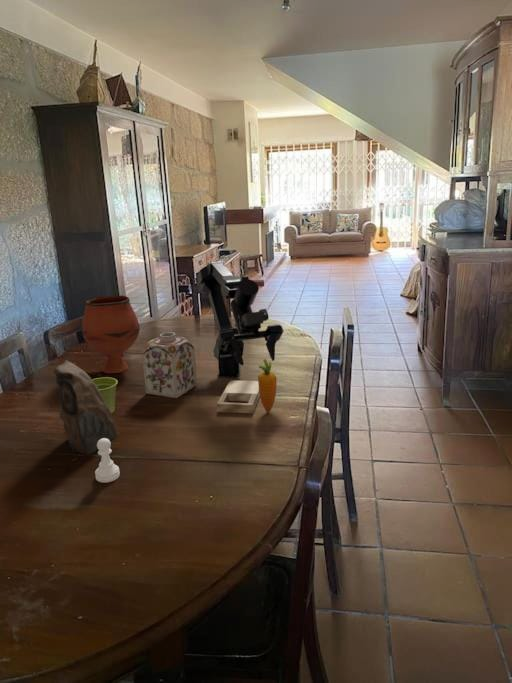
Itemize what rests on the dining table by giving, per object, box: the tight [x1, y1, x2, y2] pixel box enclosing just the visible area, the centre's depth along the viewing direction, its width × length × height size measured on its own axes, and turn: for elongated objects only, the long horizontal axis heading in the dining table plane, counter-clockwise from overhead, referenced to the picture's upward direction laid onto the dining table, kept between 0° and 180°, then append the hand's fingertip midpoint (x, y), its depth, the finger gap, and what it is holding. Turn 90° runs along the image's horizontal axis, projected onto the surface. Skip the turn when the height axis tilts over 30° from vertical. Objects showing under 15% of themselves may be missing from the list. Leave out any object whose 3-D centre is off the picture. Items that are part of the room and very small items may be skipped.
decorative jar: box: [141, 331, 198, 399], centre depth 154 cm, size 12×12×18 cm
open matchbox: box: [216, 379, 260, 414], centre depth 147 cm, size 10×18×2 cm, turn 171°
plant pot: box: [91, 376, 119, 414], centre depth 140 cm, size 9×9×9 cm
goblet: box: [81, 294, 141, 374], centre depth 173 cm, size 19×19×25 cm
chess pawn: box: [94, 438, 121, 484], centre depth 108 cm, size 5×5×9 cm
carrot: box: [257, 358, 277, 413], centre depth 136 cm, size 5×5×15 cm
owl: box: [53, 359, 120, 456], centre depth 122 cm, size 13×13×20 cm
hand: (258, 362), depth 140 cm, fingers open, 9 cm apart
